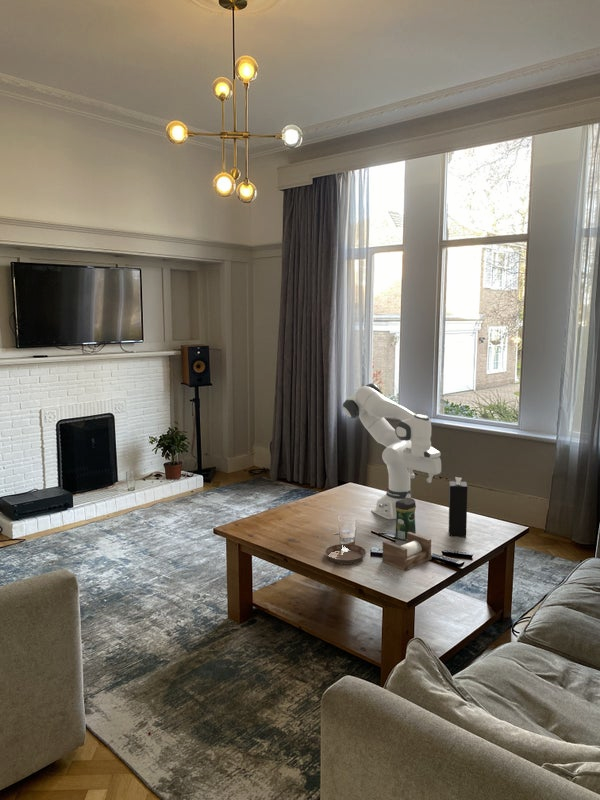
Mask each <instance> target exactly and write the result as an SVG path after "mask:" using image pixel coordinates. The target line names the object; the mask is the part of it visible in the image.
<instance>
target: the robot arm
mask: <svg viewBox="0 0 600 800" xmlns="http://www.w3.org/2000/svg"><path fill="white" fill-rule="evenodd" d="M342 410H343V412H344V414H345V415H346V416H347V417H348V418H349V419H352V420H353V419H356V418H359V421H360V422H361V424H362V425H363V426H364V429H366V430H367V432H368V433H369V434H370V435H371V436H372V438H373V439H374V441H376V442H377V444H381V445H383V446H384V447H386V448H384V450H383V451H382V454H381V458H382V461H383V462H384V464H385V465H386V467H387V473H388V487H387V488H385V489H384V492H386V493H385V494H384V495H383V496H381V497H379V498H378V499H377V501H376V506H375V507H373V508H372V509H371V512H372V513H374V514H376V515H378V516H380V517H382V518H384V519H386V520H396V509H395V505H396V501H399V500H401V499H404V498H407V497H408V498H412V488H411V479H415V478H416V474H415V473H414V471H418V472H422V473H427V474H428V478H426V483H428V484H430V483H432V479H433V478H434V476H436V475H439V474H441V473H442V460H441V458H440V457H441V453H442V452H440V451H439V450H437V449H436V448H434V447H433V446H432V441H431V438H432V430H433V428H432V427H433V425H432V423H431V419H430V417H429V416H428V415H426V414H421V413H417V414H416V413H415V412H413V411H411V410H409V409H408V408H406V407H405V406H403V405H402V404H399V403H397V402H396V401H393V400H391V399H389V398H388V397H386V396H384V395H383V393H382V391H381V389H380V387H379V386H378V385H376V384H375V383H368V384H365V385H363V386H361V387H359V388H358V389H357V390H356V391H355V393H353V394H352V395H351V396H350V397H349V398H348V399H346V400H345V401H344V402H343V403H342ZM386 418H391V419H397V420H399V421H398V422H397V423H396V425H395V428H394V427H393V426H392V425H391V424H390V422H388V420H387V419H386Z"/></svg>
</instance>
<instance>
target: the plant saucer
mask: <svg viewBox="0 0 600 800" xmlns="http://www.w3.org/2000/svg"><path fill="white" fill-rule="evenodd" d="M342 545H343V547H344V546H345V547H346V548H348V549H349V550H351V551H348V552H344V553H343V555H337V556H339V557H336V558H340V559H335V558H332V557H329V556H328V555H329V554H330V553H331V552H335V551H340V550H341V549H342ZM336 553H338V552H336ZM324 554H325V556H326V557H327V558H328V559H329V561H331V560H332V561H331V562H333V561H334V562H333V563H335V562H337V563H336V564H340V563H342V564H341V565H352V564H355V563H359V562H360V561H361V560H362V559H363V558H364V557H365V555H366V554H367V551H366V549H365V547H362V546H360V545H358V544H357V545H356V544H354V543H352V544H351V543H339V544H333V545H331V546H329V547H327V548H326V549H325V551H324ZM339 554H341V553H339Z"/></svg>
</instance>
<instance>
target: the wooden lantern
mask: <svg viewBox="0 0 600 800" xmlns="http://www.w3.org/2000/svg"><path fill="white" fill-rule="evenodd" d="M412 541H418V542H419V543H420V545H421V547H422V552H421V553H418V554H416V555H413V556H411V557H409V558H407V549H406V548H403V547H401V546H402V545H397V544H395V543H393V542H389V541H388V540H384V541H382V559H381V562H382V564H385V565H388V566H391V567H393V568H395V569H398V570H400V571H402V572H405V571H407V570H410V569H412V568H415V567H417V566H420V565H421V564H424V563H425V562H428V561H431V560H432V539H431V538H428V537H426V536H423V535H421V534H417V533H416V534H415V533H412V532H407V540H406V544H407V543H409V542H412Z"/></svg>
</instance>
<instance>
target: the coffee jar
mask: <svg viewBox="0 0 600 800" xmlns="http://www.w3.org/2000/svg"><path fill="white" fill-rule="evenodd" d="M416 508H417V507H416V501H415V499H414V498H412V497H411V498H408V497H407V498H404V499H401V500H399V501H396V505H395V509H396V519H395V533H394V534H395V535H394V536H395V538H397V539H398V540H401V541H407V532H412V533H415V534H417V533H416V531H417V530H416V513H415V512H416Z"/></svg>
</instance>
